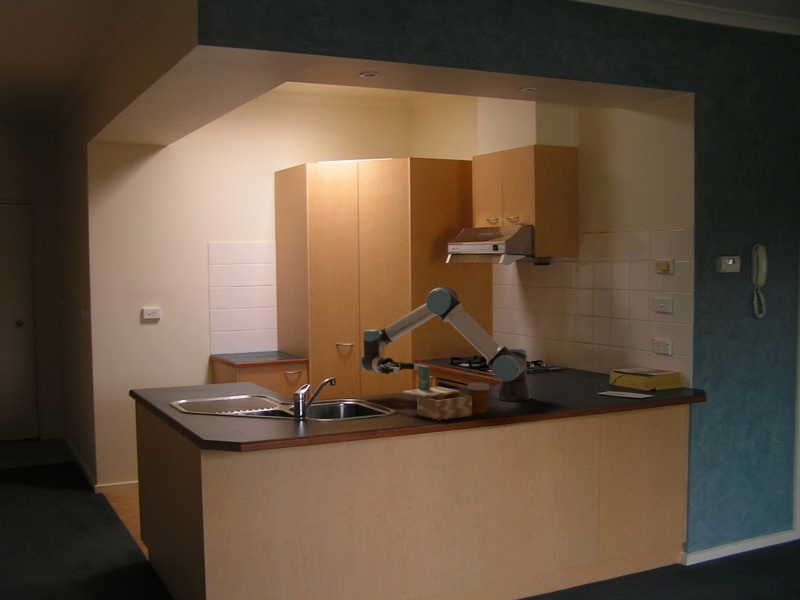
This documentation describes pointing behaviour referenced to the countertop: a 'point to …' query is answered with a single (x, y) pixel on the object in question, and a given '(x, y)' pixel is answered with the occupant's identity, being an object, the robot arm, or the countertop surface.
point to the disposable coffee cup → (478, 396)
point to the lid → (428, 385)
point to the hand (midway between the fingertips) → (411, 369)
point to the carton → (445, 406)
